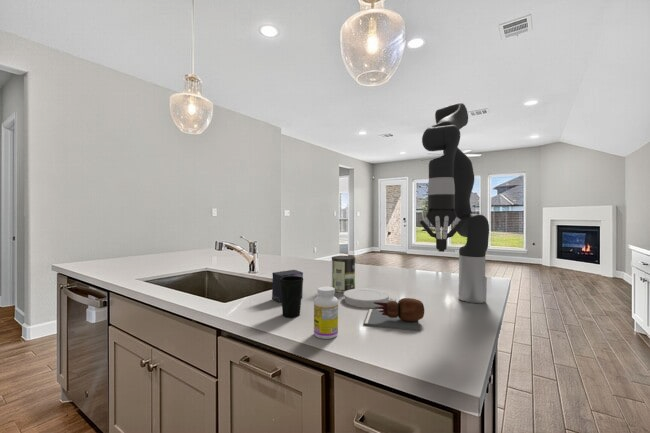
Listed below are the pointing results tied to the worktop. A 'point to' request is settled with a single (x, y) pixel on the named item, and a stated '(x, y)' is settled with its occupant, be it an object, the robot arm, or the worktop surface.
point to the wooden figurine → (403, 309)
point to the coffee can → (343, 273)
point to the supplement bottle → (326, 313)
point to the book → (388, 321)
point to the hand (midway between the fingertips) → (441, 251)
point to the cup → (291, 295)
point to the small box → (276, 282)
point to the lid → (367, 297)
